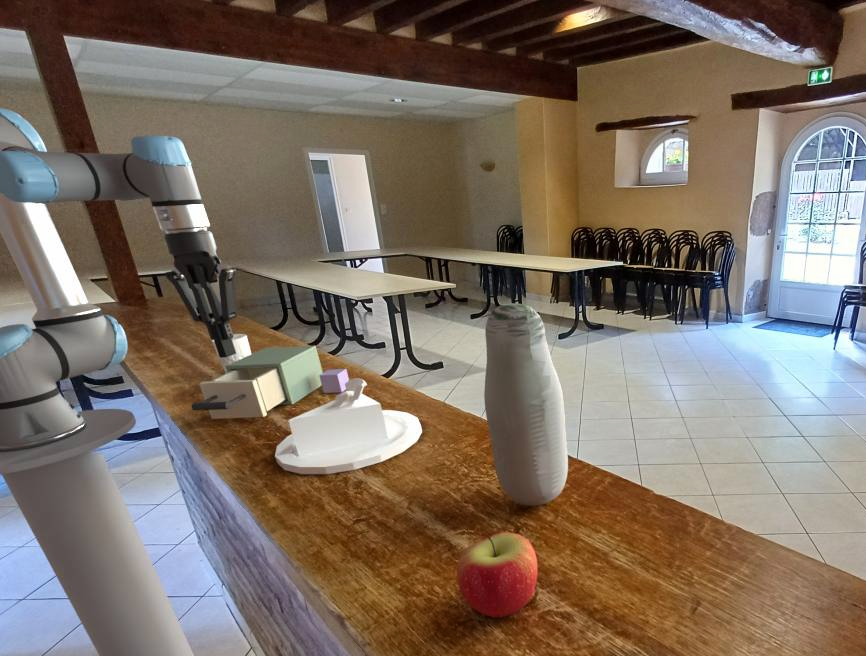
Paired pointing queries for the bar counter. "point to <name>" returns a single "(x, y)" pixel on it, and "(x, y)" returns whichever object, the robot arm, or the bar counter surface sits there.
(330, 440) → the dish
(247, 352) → the white cup
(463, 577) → the apple
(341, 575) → the bar counter surface
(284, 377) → the cabinet
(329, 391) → the purple cube
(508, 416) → the grey rounded column
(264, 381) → the drawer
